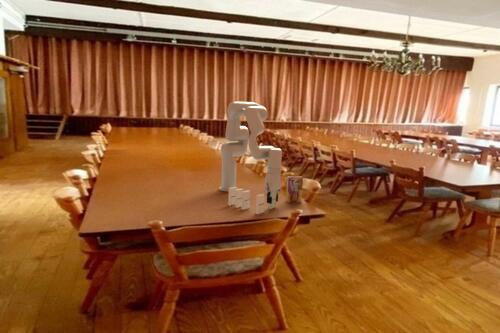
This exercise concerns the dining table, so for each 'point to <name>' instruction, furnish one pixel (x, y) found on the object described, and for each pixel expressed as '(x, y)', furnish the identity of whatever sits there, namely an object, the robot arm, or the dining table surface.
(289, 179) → the candy box
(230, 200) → the domino
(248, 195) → the domino
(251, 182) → the dining table surface
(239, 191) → the domino
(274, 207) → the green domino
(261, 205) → the domino
